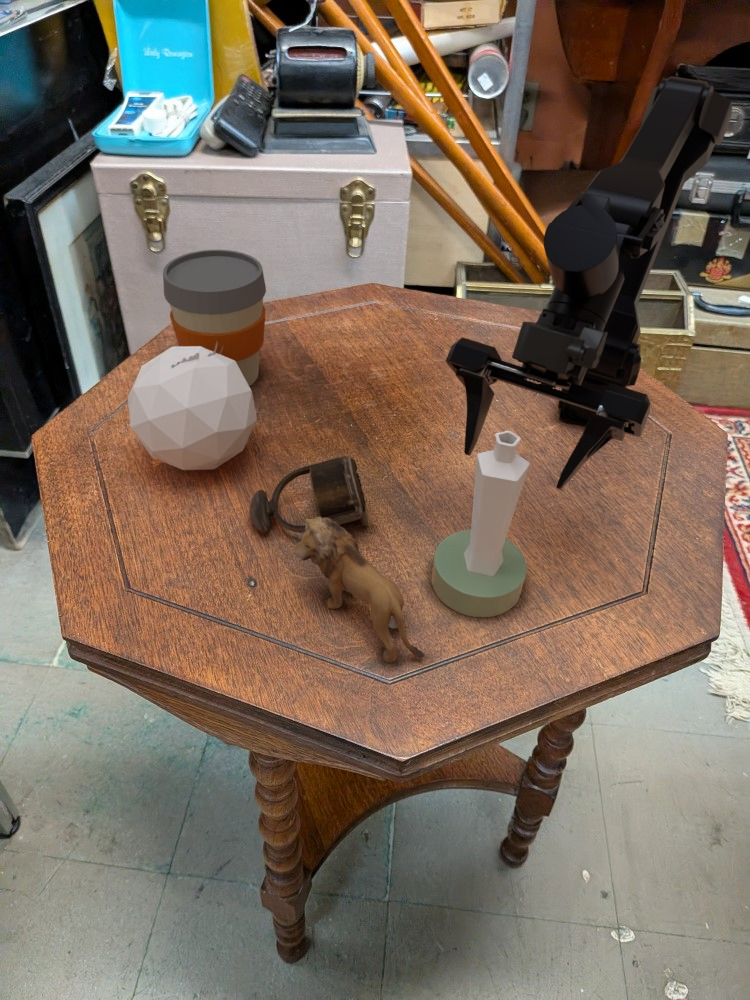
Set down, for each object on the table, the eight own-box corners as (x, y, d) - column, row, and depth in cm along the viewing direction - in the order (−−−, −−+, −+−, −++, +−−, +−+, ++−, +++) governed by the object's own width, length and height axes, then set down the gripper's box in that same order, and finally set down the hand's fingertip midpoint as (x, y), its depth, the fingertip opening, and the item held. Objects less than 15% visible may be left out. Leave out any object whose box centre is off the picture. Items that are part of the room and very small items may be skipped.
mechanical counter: (363, 524, 70) (385, 447, 76) (236, 494, 71) (268, 419, 77) (358, 561, 76) (379, 487, 82) (241, 533, 77) (270, 461, 82)
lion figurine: (288, 593, 70) (283, 526, 64) (325, 563, 73) (324, 497, 67) (406, 678, 64) (413, 613, 58) (441, 641, 67) (452, 576, 61)
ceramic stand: (527, 561, 75) (532, 541, 73) (513, 627, 68) (519, 607, 66) (442, 541, 76) (445, 520, 74) (421, 603, 70) (424, 583, 68)
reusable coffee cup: (163, 367, 100) (143, 262, 90) (243, 342, 105) (234, 241, 95) (204, 411, 92) (188, 302, 82) (289, 381, 98) (283, 276, 88)
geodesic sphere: (204, 354, 91) (140, 297, 78) (299, 386, 86) (249, 332, 73) (152, 461, 89) (77, 421, 76) (247, 500, 85) (185, 466, 71)
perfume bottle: (471, 537, 73) (493, 415, 63) (511, 555, 71) (540, 432, 61) (450, 565, 70) (469, 441, 60) (491, 584, 68) (518, 460, 58)
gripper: (466, 254, 63) (398, 420, 63) (682, 312, 57) (606, 496, 57) (489, 302, 74) (431, 444, 74) (674, 355, 67) (609, 511, 67)
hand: (511, 471), depth 68 cm, fingers open, 9 cm apart
